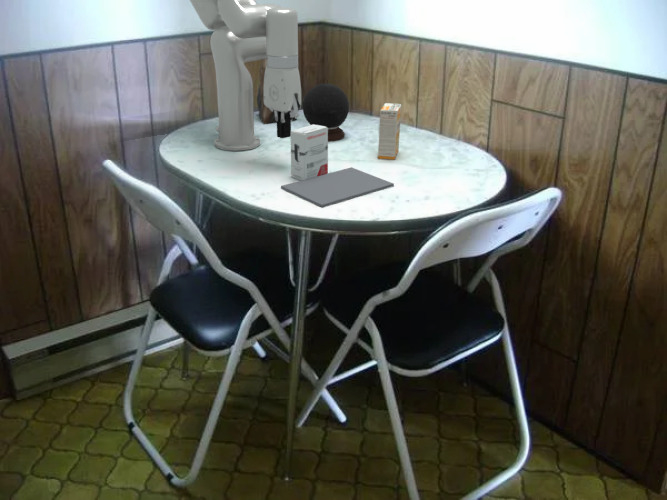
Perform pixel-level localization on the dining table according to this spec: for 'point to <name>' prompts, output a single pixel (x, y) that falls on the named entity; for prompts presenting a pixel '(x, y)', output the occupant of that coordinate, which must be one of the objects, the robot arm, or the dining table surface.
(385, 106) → the supplement box
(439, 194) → the dining table surface
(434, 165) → the dining table surface
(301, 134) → the ink box
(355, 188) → the mat
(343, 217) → the dining table surface
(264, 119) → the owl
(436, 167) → the dining table surface
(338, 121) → the ball on wooden base
